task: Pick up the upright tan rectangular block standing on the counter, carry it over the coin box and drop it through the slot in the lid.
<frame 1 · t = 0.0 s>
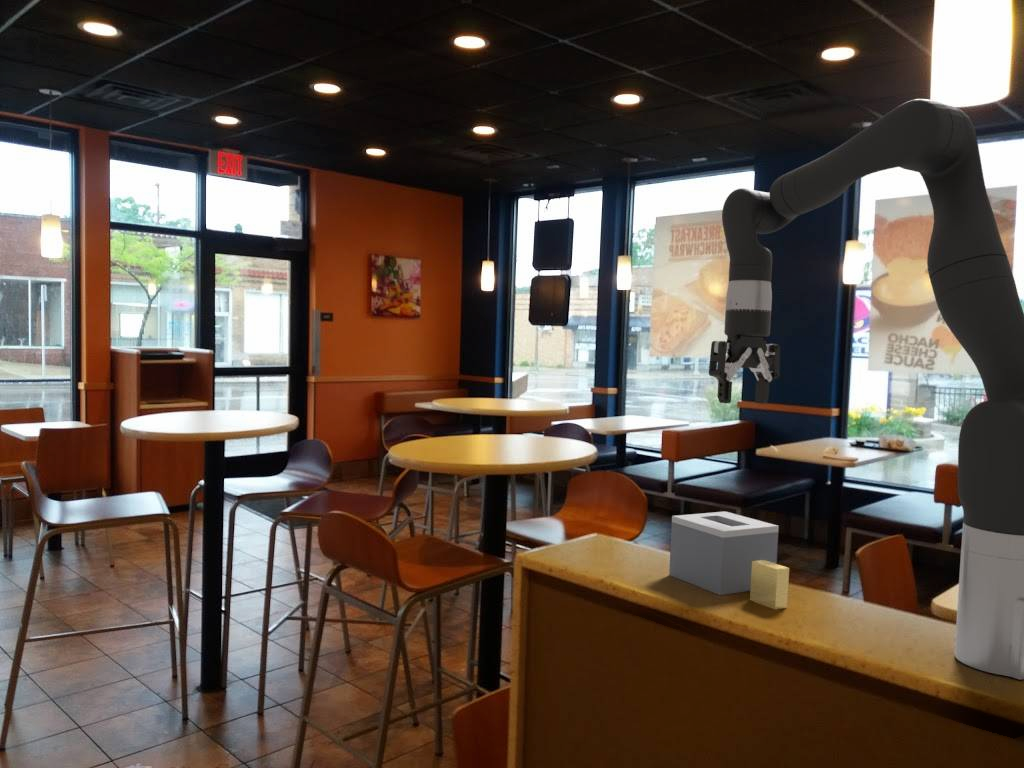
hand: (743, 403, 140), 29 cm above the table, fingers open, 8 cm apart
coin box: (721, 580, 135), on the table
tan rectangular block: (769, 584, 123), point 3 cm above the table
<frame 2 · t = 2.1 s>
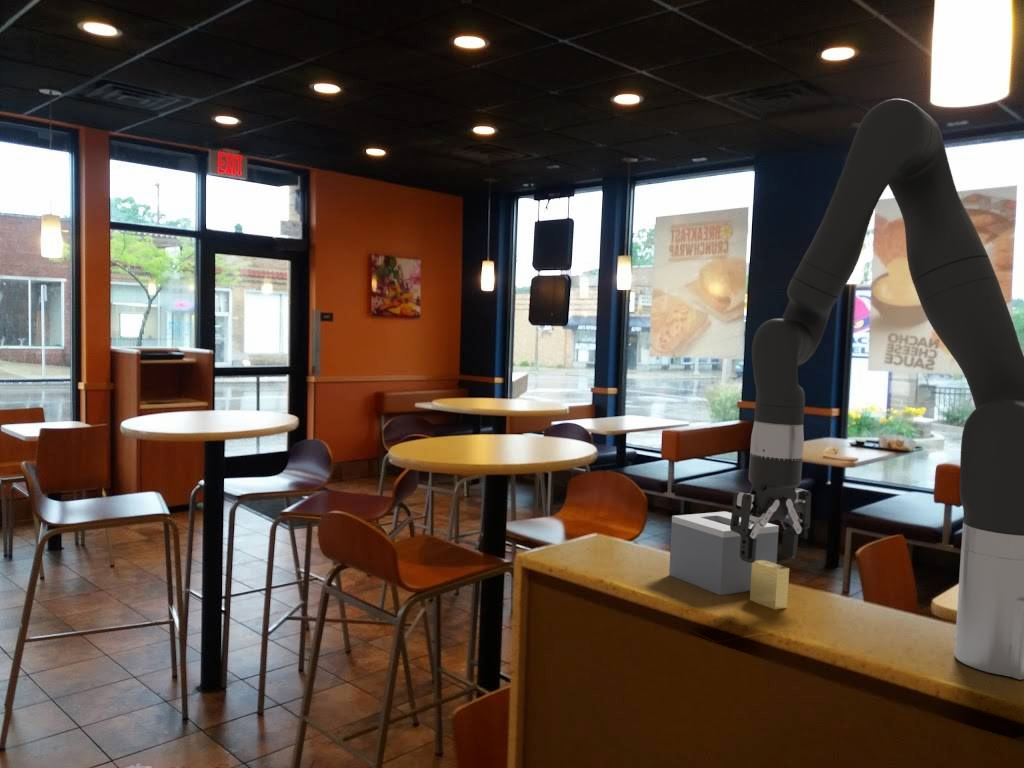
hand: (768, 559, 123), 7 cm above the table, fingers open, 8 cm apart
nothing on the table moved.
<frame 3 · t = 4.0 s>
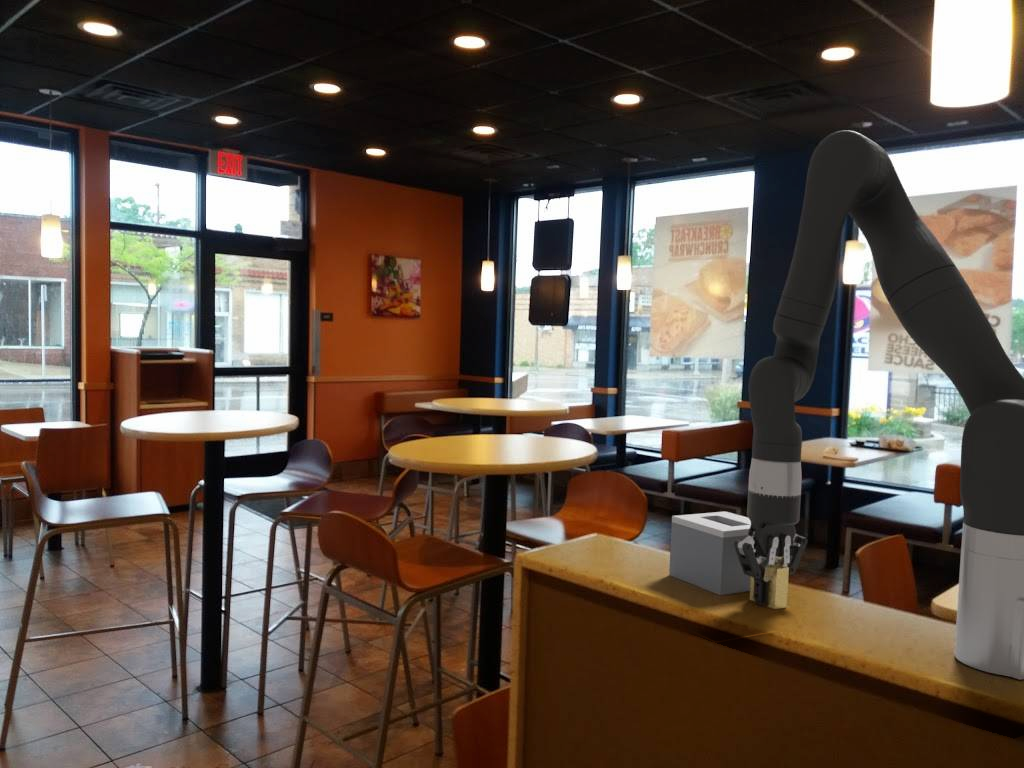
hand: (768, 602, 123), 0 cm above the table, fingers closed on tan rectangular block, 2 cm apart
tan rectangular block: (768, 583, 123), point 3 cm above the table, touching gripper
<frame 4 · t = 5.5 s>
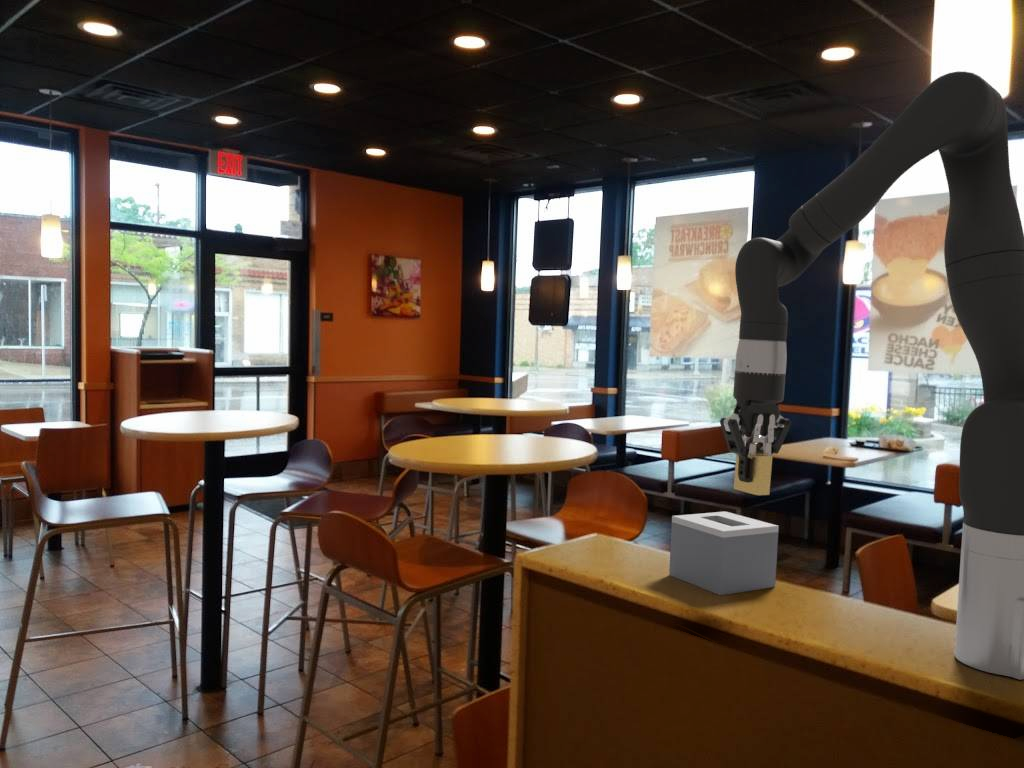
hand: (752, 480, 127), 18 cm above the table, fingers closed on tan rectangular block
tan rectangular block: (752, 472, 127), point 19 cm above the table, touching gripper
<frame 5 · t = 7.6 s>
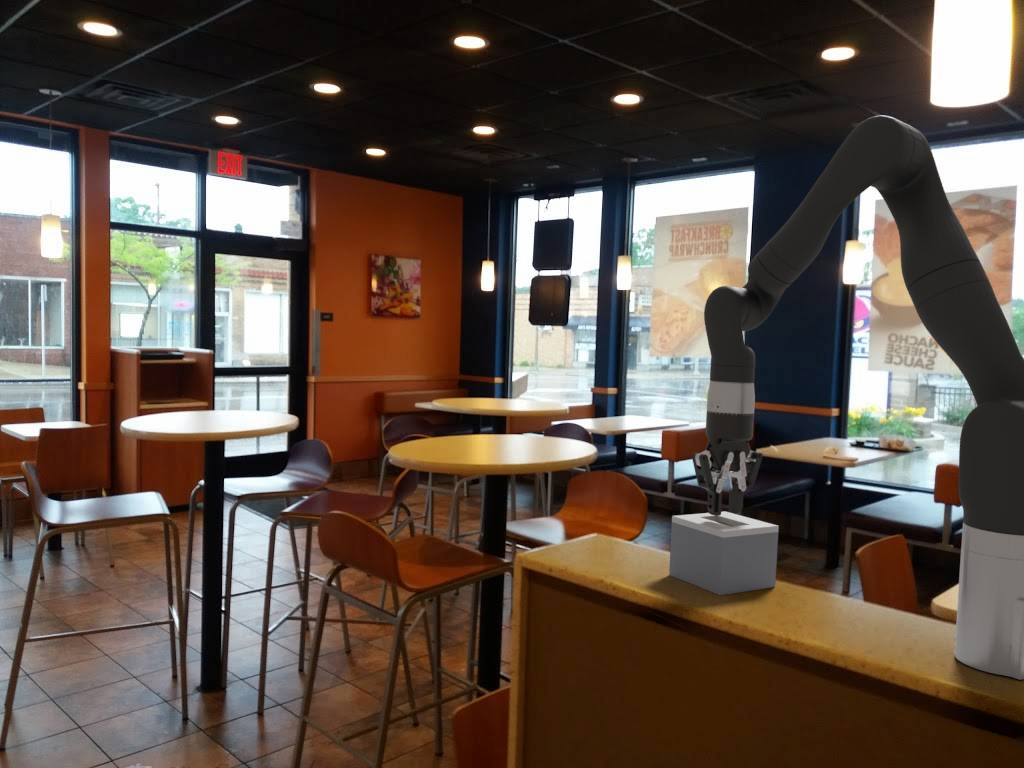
hand: (724, 513, 134), 11 cm above the table, fingers open, 4 cm apart
tan rectangular block: (723, 547, 134), point 6 cm above the table, tilted 7°
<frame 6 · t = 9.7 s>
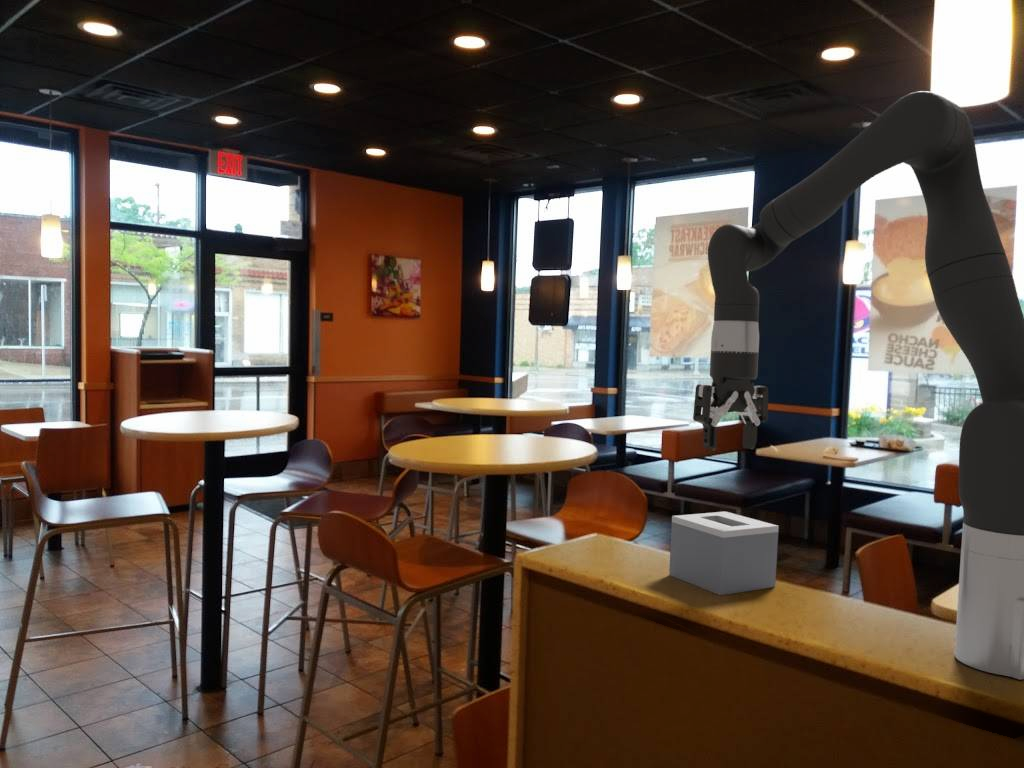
hand: (729, 448, 134), 22 cm above the table, fingers open, 8 cm apart
tan rectangular block: (724, 559, 134), point 4 cm above the table, touching coin box
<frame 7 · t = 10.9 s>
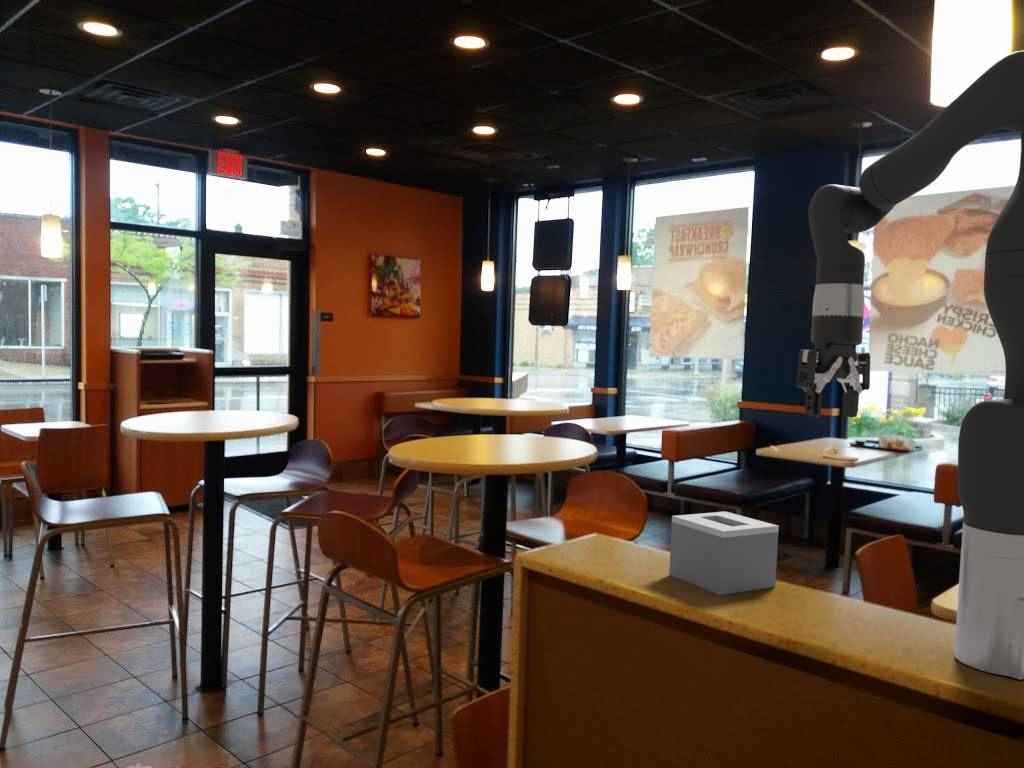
hand: (831, 416, 129), 28 cm above the table, fingers open, 8 cm apart
nothing on the table moved.
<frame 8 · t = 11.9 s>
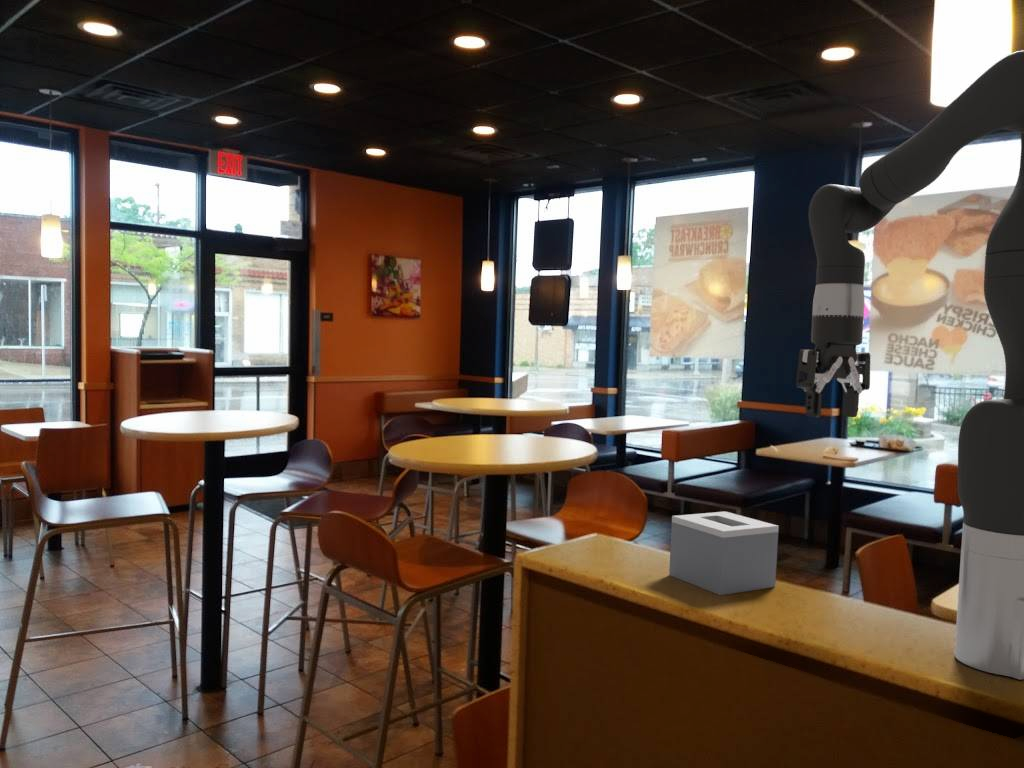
hand: (831, 416, 129), 28 cm above the table, fingers open, 8 cm apart
nothing on the table moved.
at the end: tan rectangular block inside the target area on the coin box (0.5 cm from its centre), point 3.6 cm above the coin box's base; the gripper is holding nothing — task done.
